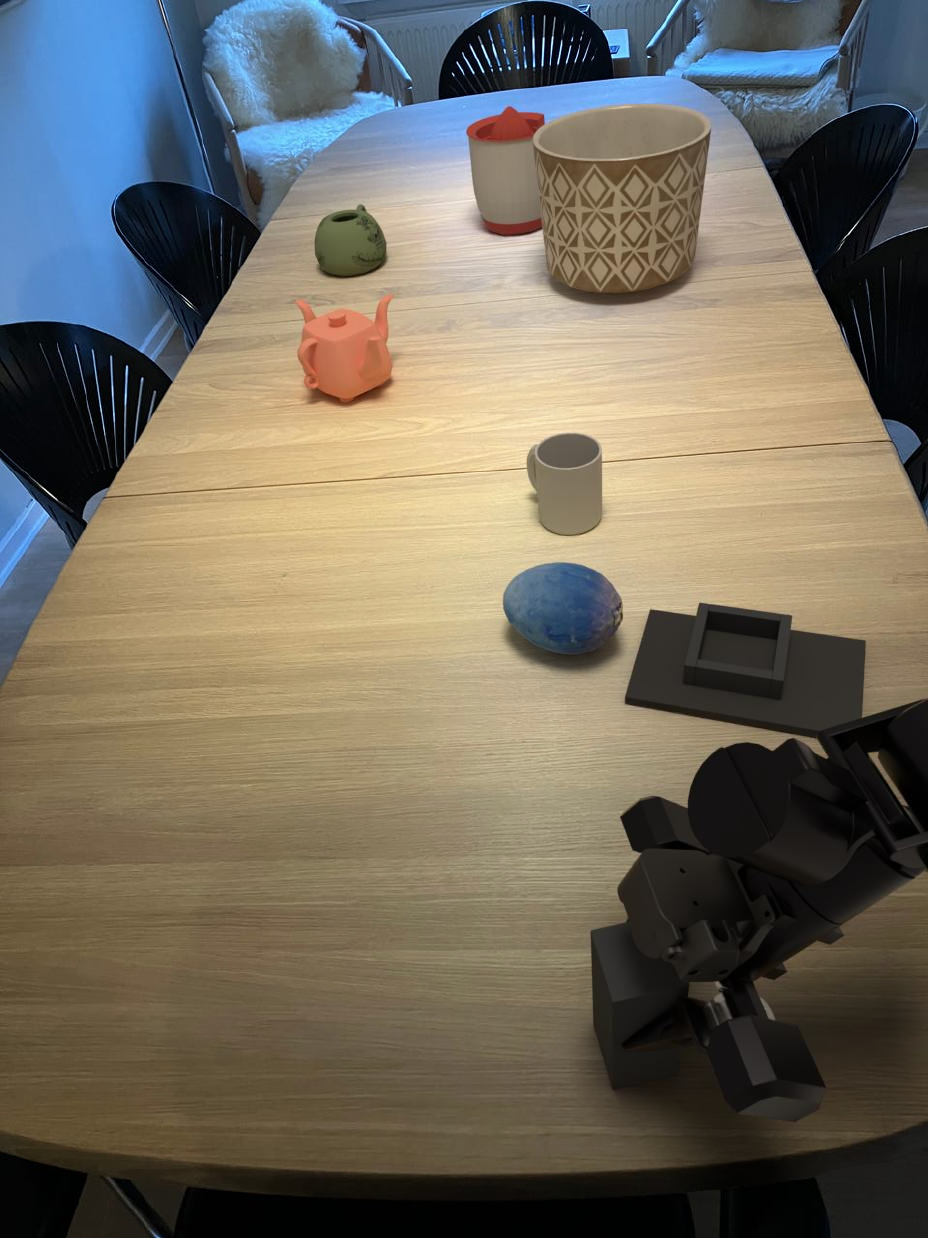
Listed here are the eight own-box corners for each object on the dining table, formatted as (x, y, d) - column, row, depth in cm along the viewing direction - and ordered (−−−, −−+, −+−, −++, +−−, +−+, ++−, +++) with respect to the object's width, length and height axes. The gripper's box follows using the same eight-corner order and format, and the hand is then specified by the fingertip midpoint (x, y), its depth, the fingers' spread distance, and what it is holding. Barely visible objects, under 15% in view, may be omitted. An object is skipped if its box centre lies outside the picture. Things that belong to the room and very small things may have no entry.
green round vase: (376, 280, 160) (367, 229, 154) (307, 280, 164) (296, 230, 158) (403, 243, 171) (396, 194, 165) (338, 243, 175) (329, 196, 169)
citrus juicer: (580, 227, 168) (578, 105, 154) (489, 247, 165) (478, 126, 152) (550, 200, 179) (546, 85, 165) (465, 219, 177) (453, 103, 163)
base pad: (864, 647, 86) (871, 620, 84) (858, 745, 78) (866, 718, 76) (649, 616, 92) (650, 589, 90) (624, 703, 84) (625, 677, 82)
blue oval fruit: (646, 595, 80) (490, 564, 86) (634, 686, 83) (484, 650, 89) (673, 570, 87) (527, 543, 93) (661, 654, 90) (521, 623, 96)
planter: (645, 230, 163) (648, 92, 148) (734, 280, 145) (749, 128, 130) (513, 269, 157) (503, 129, 142) (589, 326, 139) (587, 173, 124)
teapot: (311, 364, 140) (295, 294, 132) (404, 358, 138) (393, 287, 131) (293, 414, 129) (273, 341, 122) (393, 408, 128) (380, 334, 120)
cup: (571, 544, 102) (569, 477, 96) (509, 509, 108) (503, 444, 102) (615, 514, 105) (615, 447, 99) (552, 482, 111) (549, 417, 105)
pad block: (655, 1008, 64) (663, 913, 55) (678, 1074, 61) (689, 984, 52) (592, 1023, 64) (590, 930, 55) (612, 1090, 60) (612, 1002, 52)
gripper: (656, 707, 53) (488, 853, 60) (800, 1022, 40) (561, 1165, 47) (770, 762, 59) (605, 890, 66) (930, 1054, 46) (700, 1176, 52)
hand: (615, 1010), depth 58 cm, fingers closed on pad block, 4 cm apart
